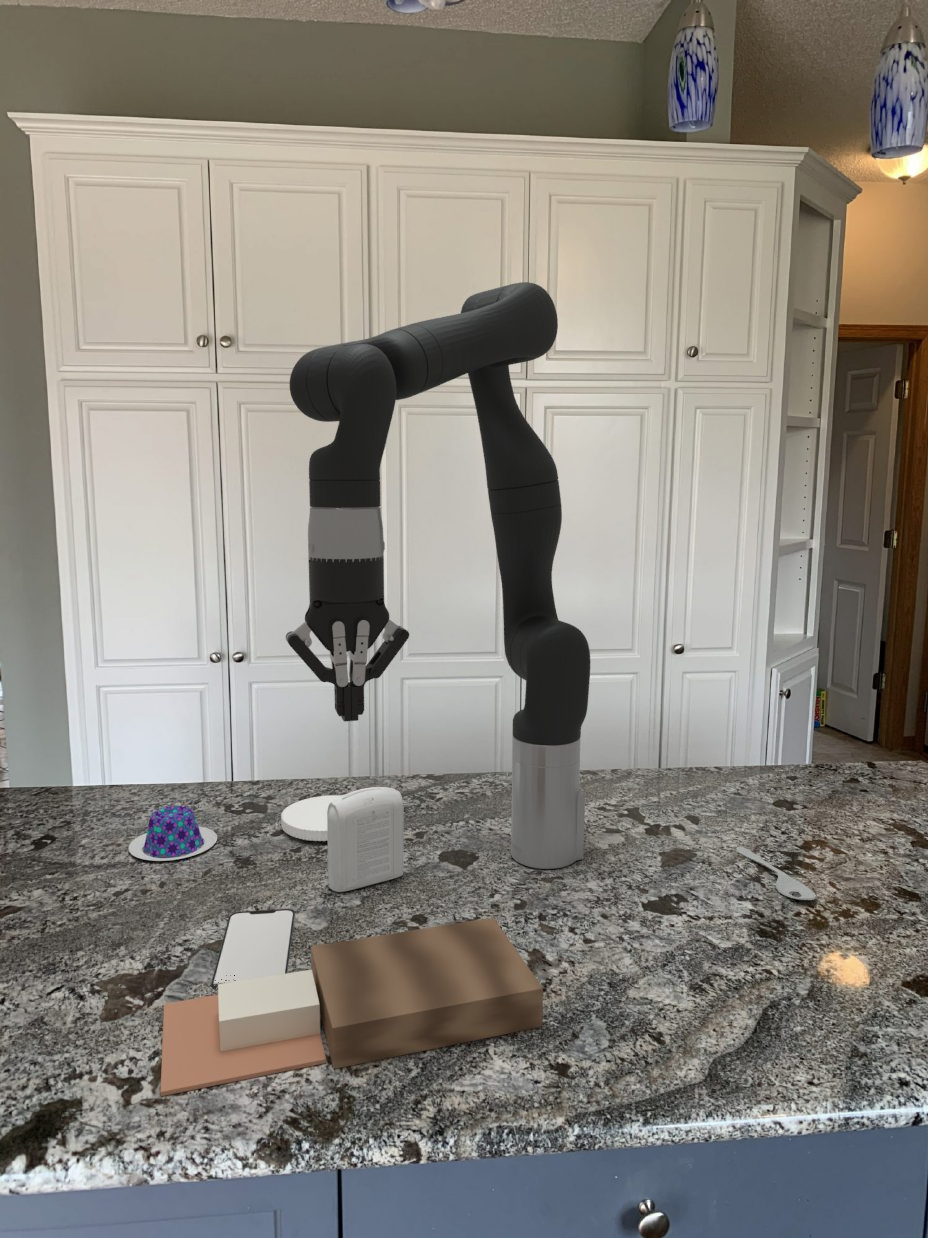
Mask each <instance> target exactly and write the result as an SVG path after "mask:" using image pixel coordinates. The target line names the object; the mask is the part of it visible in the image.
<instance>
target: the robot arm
mask: <svg viewBox="0 0 928 1238" xmlns="http://www.w3.org/2000/svg"><path fill="white" fill-rule="evenodd" d="M557 313H558V312H557V309H556V305H555V303H554V300H553V298H552V297H551V296H550V294H549V292H548V291H547V290H546V289H545V288H544V287H542V286H540V285H539V284H537V283H534V282H528V281H527V282H526V281H525V282H524V281H523V282H515V283H511V284H508V285H504V286H500V287H496V288H492V289H489V290H487V289H486V290H483V291H481V292H477V293H474V294H472V295H470V296H468V298H466V299H465V301H464V302H463V304H462V307H461V310H460V313H456V314H452V315H446V316H442V317H437V318H431V319H427V320H421V321H417V322H413V323H410V324H407V325H403V326H400V327H397V328H394V329H389V330H388V331H384V332H382V333H380V334H377V335H375V336H372V337H369V338H365V339H360V340H355V341H347V342H343V343H337V344H334V345H326V346H322V347H319V348H315V349H312V350H310V351H308V352H306V353H305V354H303V355H302V356H301V357H300V358H299V359H298V360H297V361H296V363H295V365H293V368H292V370H291V373H290V376H289V393H290V396H291V399H292V401H293V403H294V406H296V407H297V409H298V411H300V412H301V413H302V414H303V415H304V416H306V417H307V418H310V419H312V420H314V421H319V422H323V423H326V422H327V423H329V422H332V423H333V422H338V424H337V430H336V433H335V437H334V440H333V441H331V443H329V444H328V445H325V446H322V447H319V448H317V449H316V450H314V451H313V452H312V453H311V455H310V457H309V462H308V485H309V488H308V489H309V516H308V517H309V518H308V524H307V527H308V528H307V549H308V550H307V552H308V558H307V559H308V584H309V585H308V589H309V591H308V592H309V593H308V594H309V606H308V608H307V610H306V613H305V615H304V622H303V623H302V624H300V625H299V626H298V627H297V628H296V629H295V630H293V631H292V630H291V631H288V632H287V633H286V634H285V640H286V642H287V644H288V645H289V646H290V648H292V650H293V651H294V652H295V653H296V654H297V655H298V657H300V659H301V660H302V661H303V662H304V663H305V665H306V666H307V667H308V668H309V669H310V670H311V672H312V673H313V674H314V675H315V676H316V677H317V679H319V681H320V682H323V683H330V684H333V685H334V686H333V687H334V690H333V691H334V710H335V712H336V713H337V715H338V717H341V719H342V721H343V722H356V721H359V716H361V715H362V716H363V714H364V713H365V712H364V711H365V685H366V684H367V683H368V682H369V681H371V680H373V679H379V678H380V677H381V676H382V675H383V674H384V673H385V671H386V670H387V668H388V667H389V665H390V664H391V662H392V661H393V660H394V659H395V657H396V656H397V654H398V653H399V652H400V650H401V649H402V647H403V646H404V645H405V643H406V642H407V641H408V640H409V637H410V632H409V631H408V630H407V629H405V628H404V627H403V626H401V625H398V624H396V623H395V622H394V621H392V620H391V619H390V612H389V611H388V609H387V607H386V604H385V603H386V602H385V566H384V565H385V562H384V561H385V560H384V558H385V557H384V555H385V553H384V552H385V549H386V547H385V546H386V545H385V544H386V543H385V540H384V526H383V519H382V511H381V509H382V508H381V504H382V503H381V464H382V459H383V455H384V453H385V452H384V451H385V449H386V445H387V440H388V435H389V431H390V426H391V423H392V419H393V414H394V411H395V406H396V401H400V400H405V399H408V398H412V397H414V396H416V395H419V394H421V393H424V392H426V391H429V390H431V389H434V388H436V387H439V386H440V385H441V386H442V385H443V384H445V383H447V382H450V381H452V380H455V379H457V378H459V377H462V376H464V375H467V376H468V380H469V383H470V388H471V392H472V397H473V401H474V406H475V410H476V415H477V416H476V417H477V419H478V420H477V421H478V428H479V433H480V438H481V444H482V445H481V446H482V453H483V459H484V460H483V461H484V466H485V467H484V468H485V475H486V477H485V478H486V479H485V480H486V486H487V494H488V502H489V503H488V504H489V509H490V516H491V517H490V518H491V523H492V526H493V527H492V528H493V534H494V540H495V541H494V542H495V548H496V555H497V562H498V569H499V574H500V580H501V581H500V582H501V591H502V594H501V595H502V613H503V614H502V615H503V618H502V619H503V644H504V653H505V658H506V661H507V663H508V666H509V667H510V668H511V670H512V672H513V673H514V674H516V676H517V677H519V678H521V679H523V680H525V695H524V696H525V698H524V707H523V709H520V710H519V711H517V712H516V713H515V714H514V715H513V718H512V741H511V744H512V745H511V747H512V749H511V750H512V751H511V756H512V757H511V758H512V759H511V762H512V763H511V820H510V821H511V823H510V824H511V827H510V828H511V829H510V831H511V833H510V835H511V836H510V854H511V857H512V859H513V860H514V861H516V862H517V863H519V864H521V865H524V866H526V867H530V868H534V869H542V870H543V869H545V870H549V869H550V870H551V869H552V870H553V869H561V868H564V867H568V866H570V865H572V864H574V863H575V862H576V861H580V860H584V849H585V847H584V843H585V809H586V806H585V805H586V796H585V792H584V791H582V790H581V788H580V778H581V777H580V774H581V773H580V772H581V771H580V770H581V769H580V767H581V736H582V735H581V734H582V733H581V732H582V726H583V723H584V721H585V719H586V716H587V713H588V706H589V705H588V704H589V694H590V693H589V691H590V677H591V651H590V645H589V643H588V640H587V638H586V636H585V634H584V633H583V631H581V629H579V628H578V627H576V626H574V625H572V624H570V623H568V622H564V621H562V620H559V618H558V613H557V608H556V603H555V597H554V590H553V578H552V577H553V573H552V572H553V566H554V565H553V564H554V559H555V555H556V550H557V548H558V543H559V540H560V539H559V538H560V536H561V535H560V534H561V528H562V520H563V516H562V515H563V513H562V508H563V507H562V498H561V490H560V481H559V476H558V475H559V474H558V468H557V465H556V463H555V460H554V458H553V456H552V455H551V453H550V451H549V450H548V448H547V447H546V445H545V444H544V442H543V441H542V440H541V439H540V437H539V435H538V434H537V433H536V432H535V431H534V429H533V427H531V425H530V423H529V422H528V420H527V419H526V417H525V416H524V414H523V413H522V411H521V410H520V407H519V404H518V403H517V399H516V397H515V394H514V390H513V385H512V381H511V375H510V367H509V366H511V365H516V364H521V363H525V362H530V361H533V360H536V359H539V358H541V357H542V356H544V355H545V354H546V353H548V352H549V351H550V350H551V349H552V347H553V345H554V343H555V341H556V338H557V335H558V327H559V325H558V324H559V323H558V320H559V319H558V314H557ZM383 630H384V631H383ZM311 632H312V633H313V634H314V636H315V637H316V638H317V640H318V641H319V642H320V644H321V645H322V646H323V647H324V648H325V649H326V650H327V651H328V652H329V657H330V661H331V668H330V667H327V666H325V665H324V664H323V662H322V661H321V660H320V659H319V658H318V657H317V655H316V654H315V653H314V652H313V651H312V650H311V649H310V647H311V646H312V643H313V640H312V638H311ZM382 632H383V634H382ZM381 634H382V640H383V642H382V643H381V645H379V648H378V649H377V650H376V652H375V653H374V654H373V656H372V657H371V658H370V660H369V661H368V651H369V649H370V648H371V647H372V646H373V645H374V643H375V642H376V640H377V639H378V638H379V637H380V635H381ZM347 653H348V654H347ZM348 657H349V666H348ZM367 661H368V663H367ZM348 667H349V668H348ZM348 669H349V670H348Z"/></svg>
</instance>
